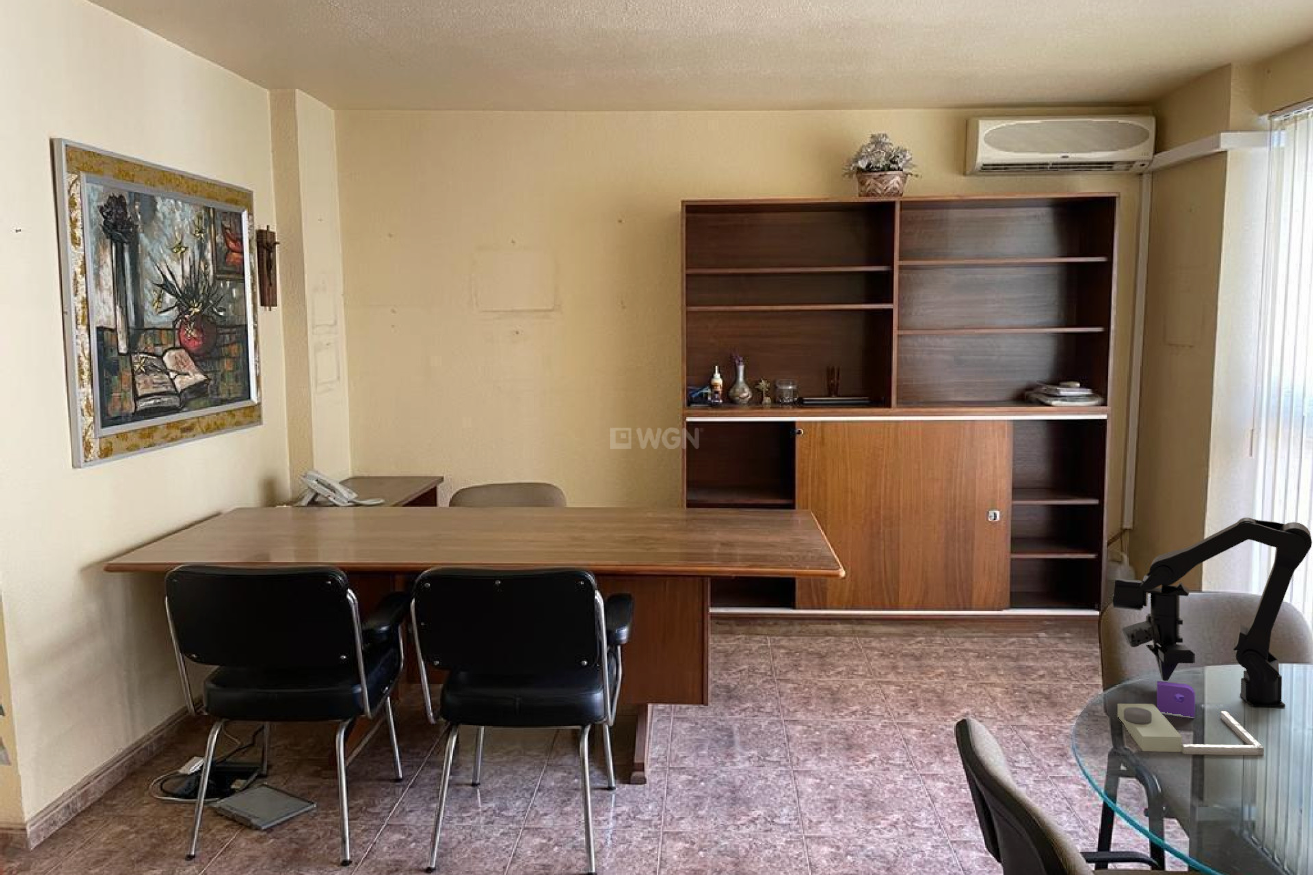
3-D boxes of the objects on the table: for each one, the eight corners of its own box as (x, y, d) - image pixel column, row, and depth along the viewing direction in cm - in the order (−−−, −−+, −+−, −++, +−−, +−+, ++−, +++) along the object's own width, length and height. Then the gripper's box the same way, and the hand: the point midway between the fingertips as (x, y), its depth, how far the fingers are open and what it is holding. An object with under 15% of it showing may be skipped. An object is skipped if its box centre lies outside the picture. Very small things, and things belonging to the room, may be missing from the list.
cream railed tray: (1226, 718, 197) (1226, 697, 197) (1263, 755, 181) (1263, 732, 180) (1112, 717, 201) (1112, 696, 201) (1138, 753, 184) (1138, 730, 184)
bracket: (1194, 720, 198) (1194, 688, 197) (1157, 715, 201) (1156, 684, 201) (1194, 699, 208) (1195, 669, 208) (1159, 695, 212) (1159, 665, 211)
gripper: (1113, 600, 223) (1114, 665, 224) (1139, 625, 204) (1139, 696, 206) (1165, 600, 221) (1165, 665, 222) (1196, 625, 202) (1195, 696, 204)
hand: (1164, 680), depth 214 cm, fingers closed
